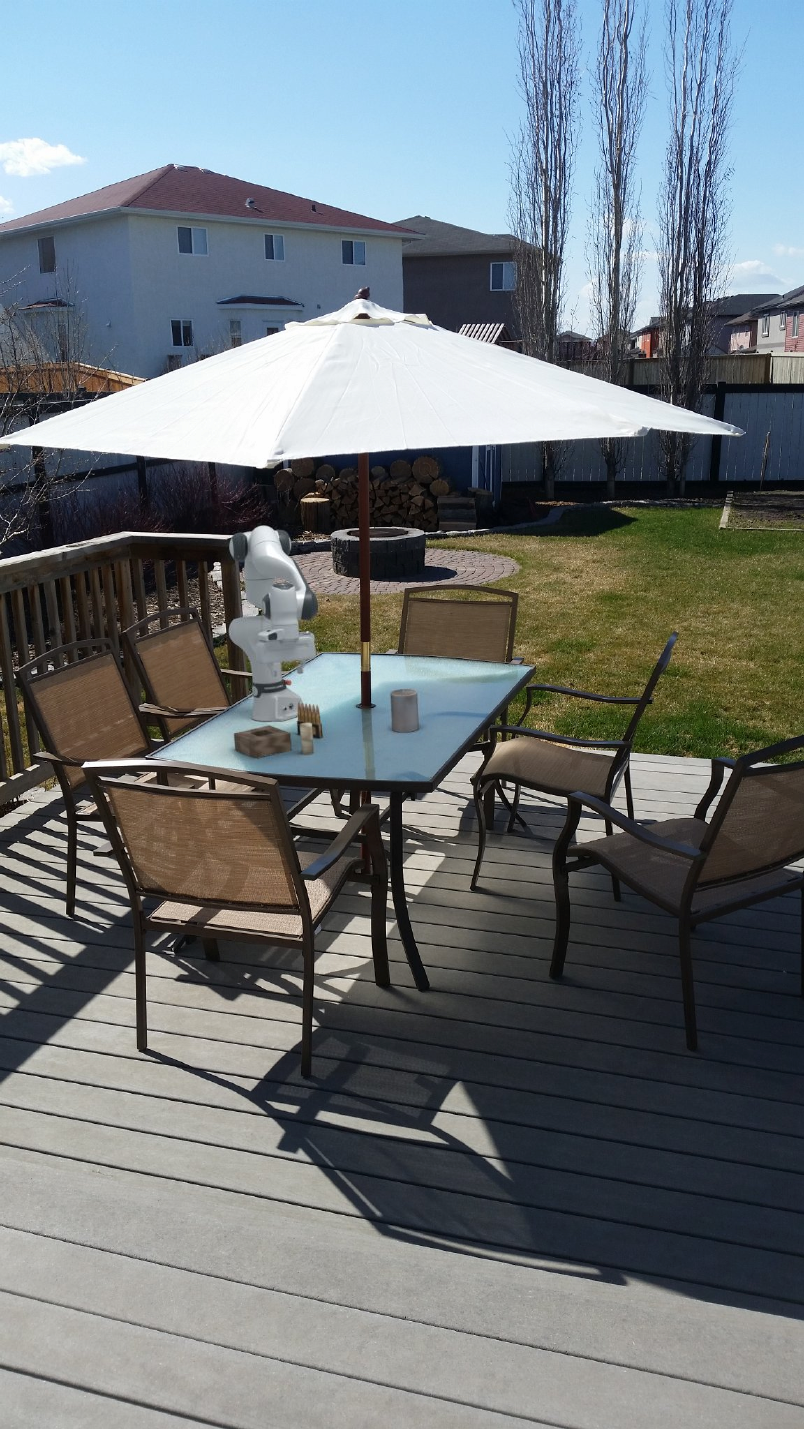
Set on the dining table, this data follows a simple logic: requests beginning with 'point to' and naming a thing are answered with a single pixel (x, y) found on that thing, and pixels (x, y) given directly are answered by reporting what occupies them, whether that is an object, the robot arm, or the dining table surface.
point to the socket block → (262, 741)
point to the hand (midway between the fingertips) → (287, 674)
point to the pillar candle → (404, 710)
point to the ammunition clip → (310, 719)
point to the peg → (306, 738)
